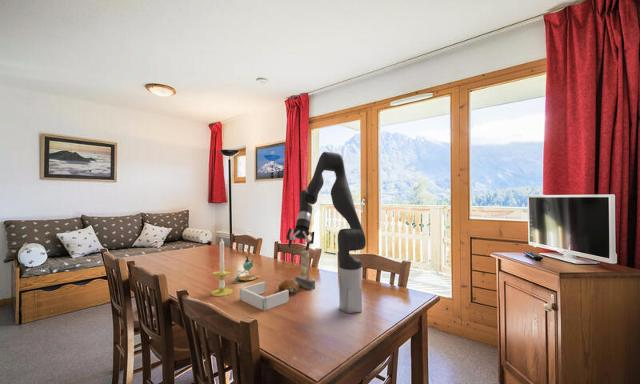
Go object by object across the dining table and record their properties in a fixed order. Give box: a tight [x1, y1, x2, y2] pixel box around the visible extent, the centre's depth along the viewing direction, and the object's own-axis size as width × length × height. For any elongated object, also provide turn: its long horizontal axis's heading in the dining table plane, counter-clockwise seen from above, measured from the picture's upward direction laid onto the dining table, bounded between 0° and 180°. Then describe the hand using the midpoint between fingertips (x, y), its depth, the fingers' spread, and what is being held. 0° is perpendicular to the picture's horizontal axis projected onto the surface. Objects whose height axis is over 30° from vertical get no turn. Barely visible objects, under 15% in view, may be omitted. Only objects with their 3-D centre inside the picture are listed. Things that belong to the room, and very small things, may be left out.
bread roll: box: [278, 278, 300, 296], centre depth 136 cm, size 10×10×8 cm
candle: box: [210, 237, 233, 297], centre depth 135 cm, size 10×10×27 cm
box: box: [239, 281, 290, 312], centre depth 125 cm, size 13×18×5 cm
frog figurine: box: [232, 254, 261, 285], centre depth 157 cm, size 10×18×15 cm, turn 133°
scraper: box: [294, 250, 316, 290], centre depth 144 cm, size 3×12×18 cm, turn 47°
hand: (298, 248), depth 142 cm, fingers open, 8 cm apart
